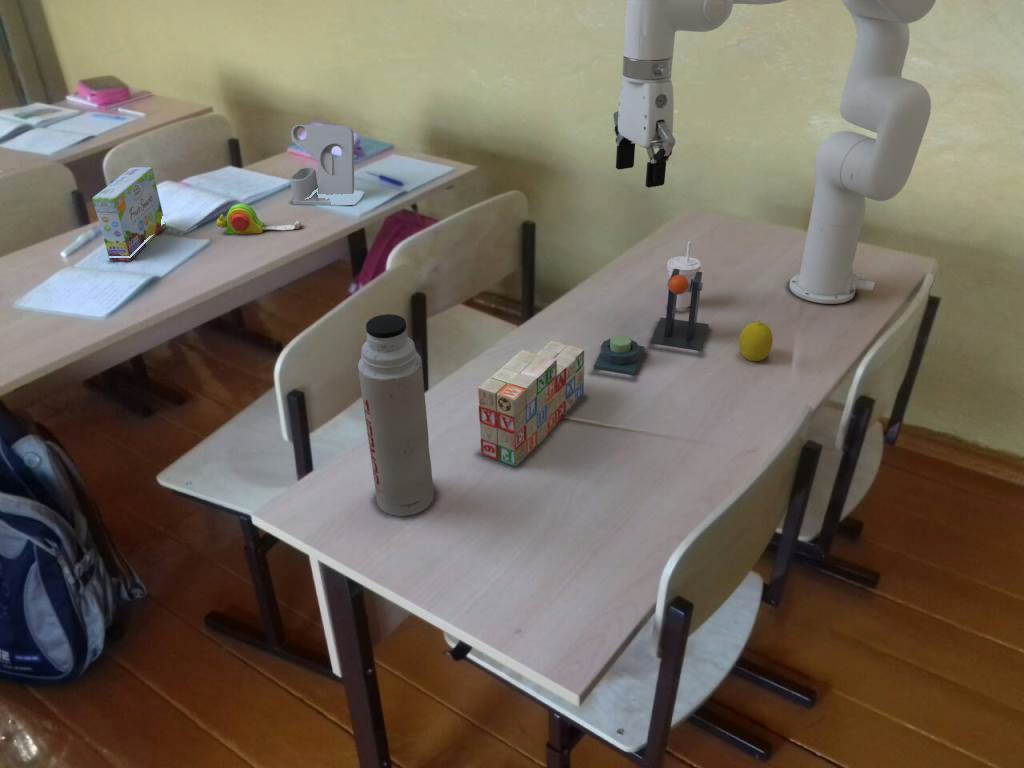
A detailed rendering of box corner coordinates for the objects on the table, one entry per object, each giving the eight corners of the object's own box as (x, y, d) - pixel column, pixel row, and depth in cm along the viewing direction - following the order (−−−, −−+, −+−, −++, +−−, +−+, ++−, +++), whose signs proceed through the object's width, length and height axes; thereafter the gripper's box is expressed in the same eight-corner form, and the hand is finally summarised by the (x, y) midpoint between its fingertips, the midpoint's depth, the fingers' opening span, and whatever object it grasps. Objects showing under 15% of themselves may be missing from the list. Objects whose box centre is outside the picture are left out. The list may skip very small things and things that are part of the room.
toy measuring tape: (221, 227, 201) (215, 201, 197) (302, 222, 203) (297, 197, 199) (216, 237, 196) (210, 211, 192) (299, 233, 197) (294, 206, 194)
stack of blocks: (551, 387, 139) (551, 323, 132) (584, 397, 136) (586, 332, 129) (480, 454, 124) (477, 386, 117) (515, 468, 121) (514, 398, 114)
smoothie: (695, 316, 159) (703, 249, 151) (662, 314, 160) (668, 247, 152) (696, 301, 164) (704, 235, 156) (663, 299, 165) (669, 233, 157)
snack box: (133, 262, 185) (115, 197, 177) (109, 262, 185) (89, 197, 177) (168, 225, 203) (152, 165, 194) (145, 225, 203) (129, 165, 195)
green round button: (612, 342, 145) (613, 333, 144) (632, 345, 144) (633, 336, 143) (607, 352, 142) (608, 343, 141) (628, 355, 141) (628, 346, 140)
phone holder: (289, 203, 214) (277, 134, 204) (304, 190, 222) (293, 122, 212) (353, 206, 211) (344, 136, 201) (366, 192, 220) (357, 124, 210)
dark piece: (606, 348, 149) (606, 331, 147) (644, 354, 147) (645, 337, 145) (593, 373, 142) (594, 356, 140) (633, 380, 140) (634, 362, 138)
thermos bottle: (375, 518, 112) (349, 340, 97) (378, 480, 119) (354, 308, 104) (433, 514, 113) (417, 336, 98) (433, 477, 119) (418, 305, 104)
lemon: (769, 356, 146) (777, 316, 141) (767, 372, 141) (774, 332, 137) (738, 351, 147) (744, 312, 143) (734, 367, 143) (740, 327, 139)
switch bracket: (699, 355, 146) (707, 291, 140) (649, 348, 149) (655, 284, 142) (707, 329, 154) (715, 267, 147) (660, 322, 157) (665, 260, 150)
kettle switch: (685, 295, 135) (688, 276, 134) (666, 293, 135) (669, 273, 135) (693, 294, 147) (696, 276, 146) (675, 292, 148) (678, 274, 147)
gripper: (699, 77, 121) (687, 190, 130) (639, 55, 135) (632, 159, 144) (655, 82, 119) (646, 197, 128) (599, 59, 132) (594, 164, 141)
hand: (639, 176), depth 136 cm, fingers open, 9 cm apart
